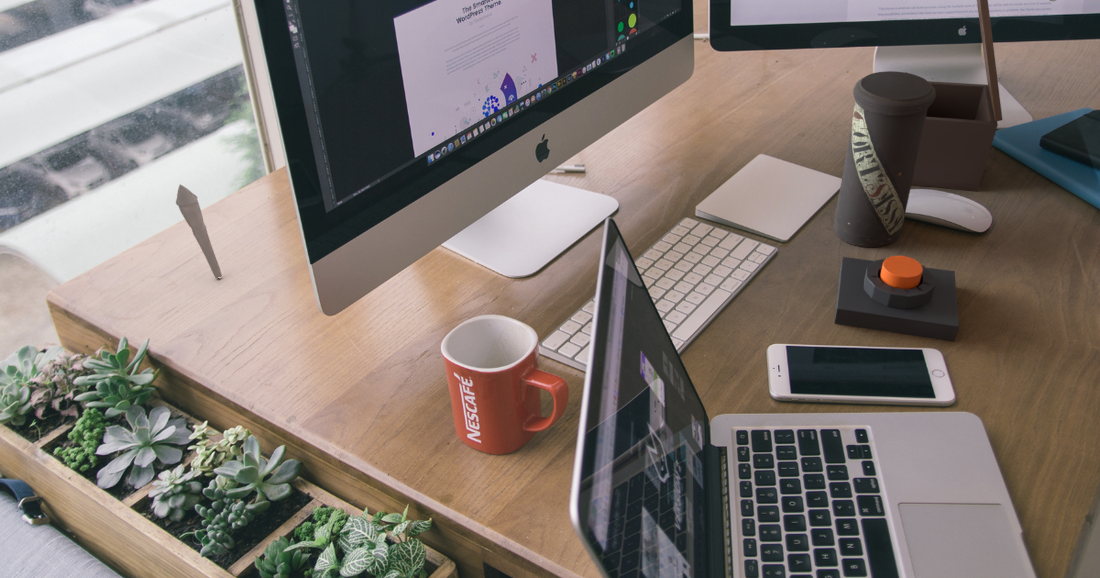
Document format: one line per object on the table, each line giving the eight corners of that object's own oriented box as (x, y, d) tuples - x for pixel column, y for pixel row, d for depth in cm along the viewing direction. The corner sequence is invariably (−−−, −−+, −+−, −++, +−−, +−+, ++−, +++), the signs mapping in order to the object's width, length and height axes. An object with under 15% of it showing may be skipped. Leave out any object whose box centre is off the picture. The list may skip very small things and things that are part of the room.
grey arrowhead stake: (210, 286, 100) (170, 192, 91) (207, 276, 102) (168, 183, 93) (230, 280, 101) (192, 186, 92) (227, 269, 103) (189, 177, 94)
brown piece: (979, -5, 90) (986, -7, 90) (972, -36, 99) (979, -38, 99) (995, 121, 98) (1002, 120, 98) (987, 82, 107) (994, 80, 107)
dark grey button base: (834, 324, 85) (839, 295, 83) (839, 271, 92) (844, 243, 90) (954, 342, 81) (963, 313, 79) (950, 286, 89) (958, 257, 86)
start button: (879, 287, 84) (882, 274, 83) (880, 266, 87) (883, 253, 86) (919, 292, 83) (923, 279, 82) (919, 271, 86) (922, 258, 84)
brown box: (854, 179, 109) (866, 114, 103) (858, 139, 118) (869, 77, 112) (977, 191, 104) (998, 124, 98) (971, 148, 113) (989, 84, 107)
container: (820, 238, 98) (844, 88, 86) (843, 205, 104) (869, 60, 92) (890, 257, 94) (926, 102, 82) (911, 221, 99) (947, 72, 87)
